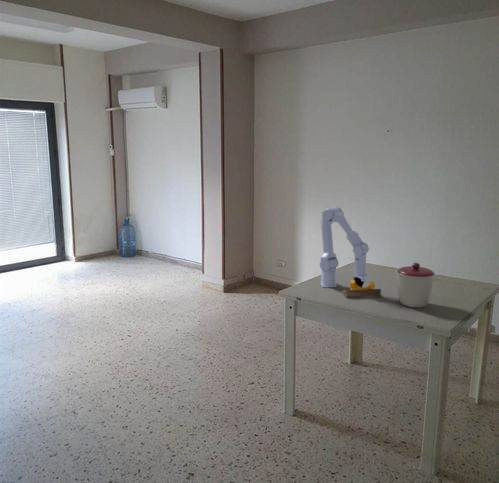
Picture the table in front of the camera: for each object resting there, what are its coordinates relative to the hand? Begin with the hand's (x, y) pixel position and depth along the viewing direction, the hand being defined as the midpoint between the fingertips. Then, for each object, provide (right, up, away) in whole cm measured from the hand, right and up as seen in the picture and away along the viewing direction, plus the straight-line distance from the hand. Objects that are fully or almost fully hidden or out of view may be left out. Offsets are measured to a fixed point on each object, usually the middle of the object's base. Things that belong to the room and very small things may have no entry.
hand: (358, 290), depth 256 cm
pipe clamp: (+1, -1, -3) cm, 3 cm away
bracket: (0, -2, -4) cm, 4 cm away
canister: (+23, -5, -19) cm, 30 cm away
